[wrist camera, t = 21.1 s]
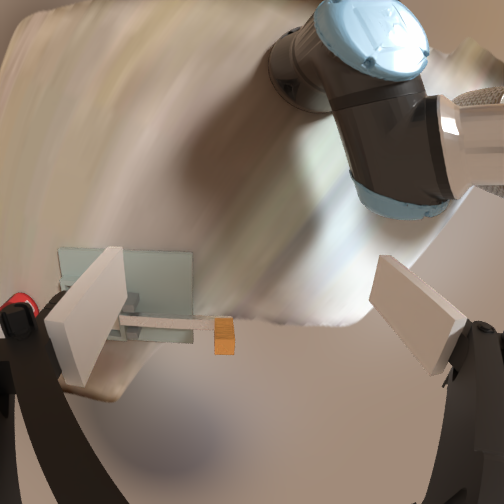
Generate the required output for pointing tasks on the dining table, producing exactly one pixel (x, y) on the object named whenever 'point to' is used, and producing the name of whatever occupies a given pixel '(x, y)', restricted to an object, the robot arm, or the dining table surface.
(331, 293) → the dining table surface
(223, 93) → the dining table surface
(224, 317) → the lock bar
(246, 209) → the dining table surface
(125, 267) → the dock
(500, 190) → the planter
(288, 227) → the dining table surface
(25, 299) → the canned food
